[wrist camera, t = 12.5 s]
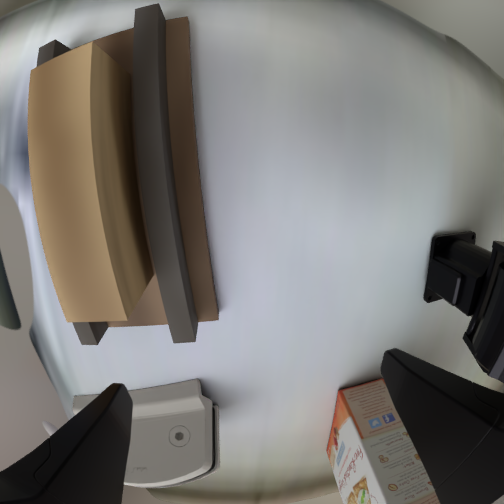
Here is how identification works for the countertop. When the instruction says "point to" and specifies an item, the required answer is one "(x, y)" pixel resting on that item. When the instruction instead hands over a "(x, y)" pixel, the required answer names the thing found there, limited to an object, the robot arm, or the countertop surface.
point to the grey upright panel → (169, 435)
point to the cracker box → (375, 451)
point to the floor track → (162, 175)
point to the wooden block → (87, 184)
